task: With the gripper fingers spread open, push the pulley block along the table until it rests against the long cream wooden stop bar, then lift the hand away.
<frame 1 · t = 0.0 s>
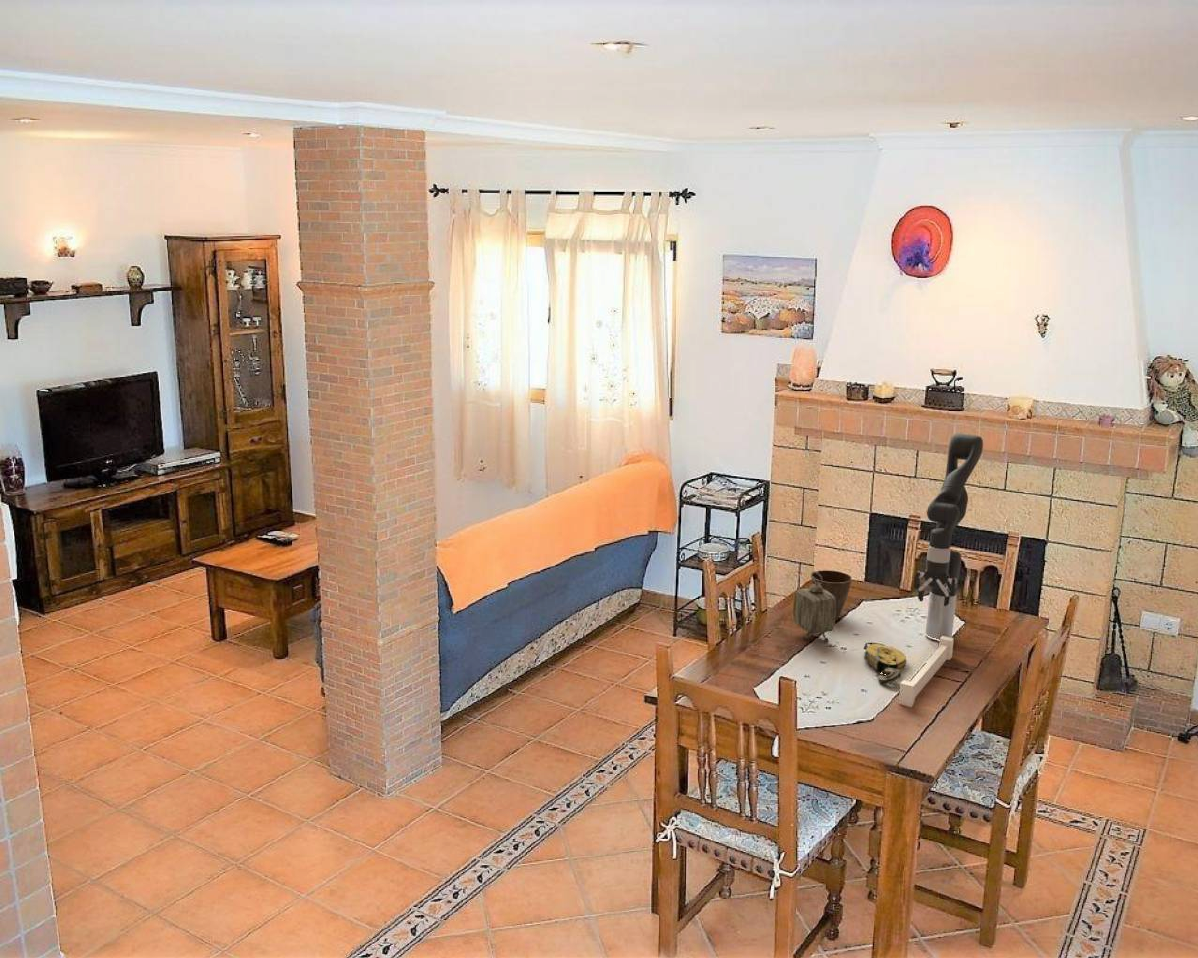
hand: (933, 603, 384), 17 cm above the table, tool pointing down, fingers open, 8 cm apart
plant pot: (828, 616, 418), on the table
pulley block: (884, 670, 370), on the table
tabletop clock: (811, 638, 395), on the table
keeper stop: (905, 674, 366), on the table
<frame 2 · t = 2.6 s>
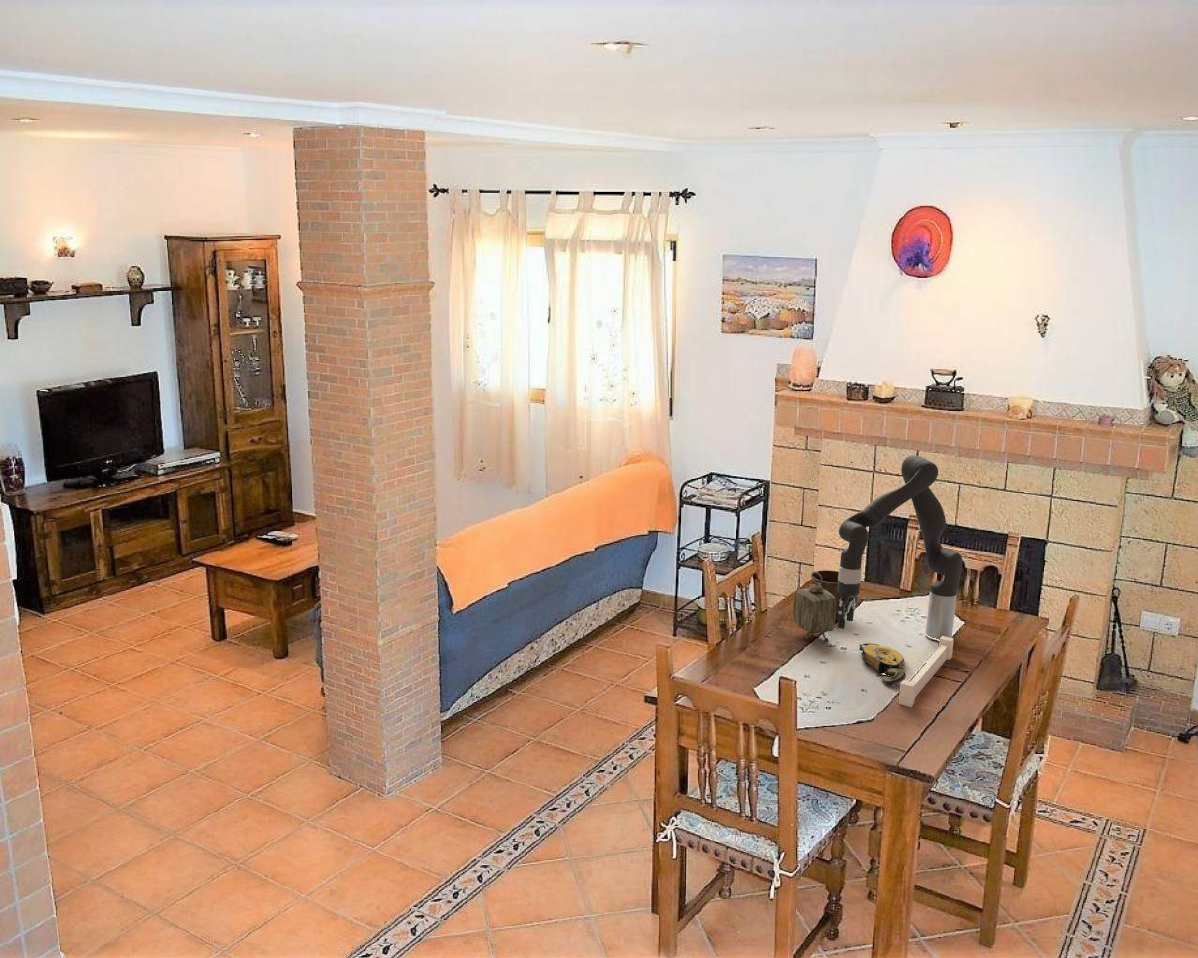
hand: (845, 624, 374), 13 cm above the table, tool pointing down, fingers open, 8 cm apart
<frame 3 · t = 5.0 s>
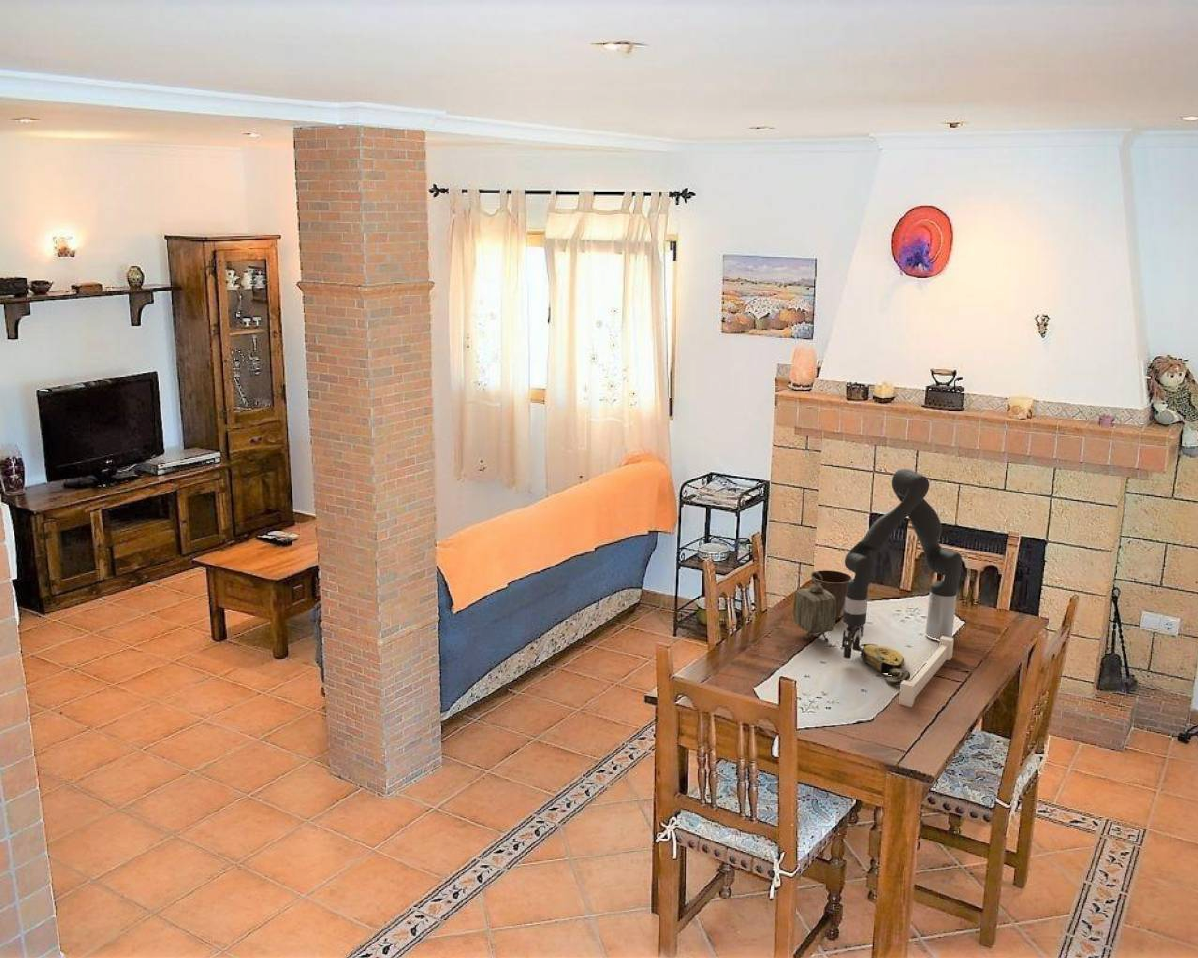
hand: (851, 653, 375), 3 cm above the table, tool pointing down, fingers open, 8 cm apart
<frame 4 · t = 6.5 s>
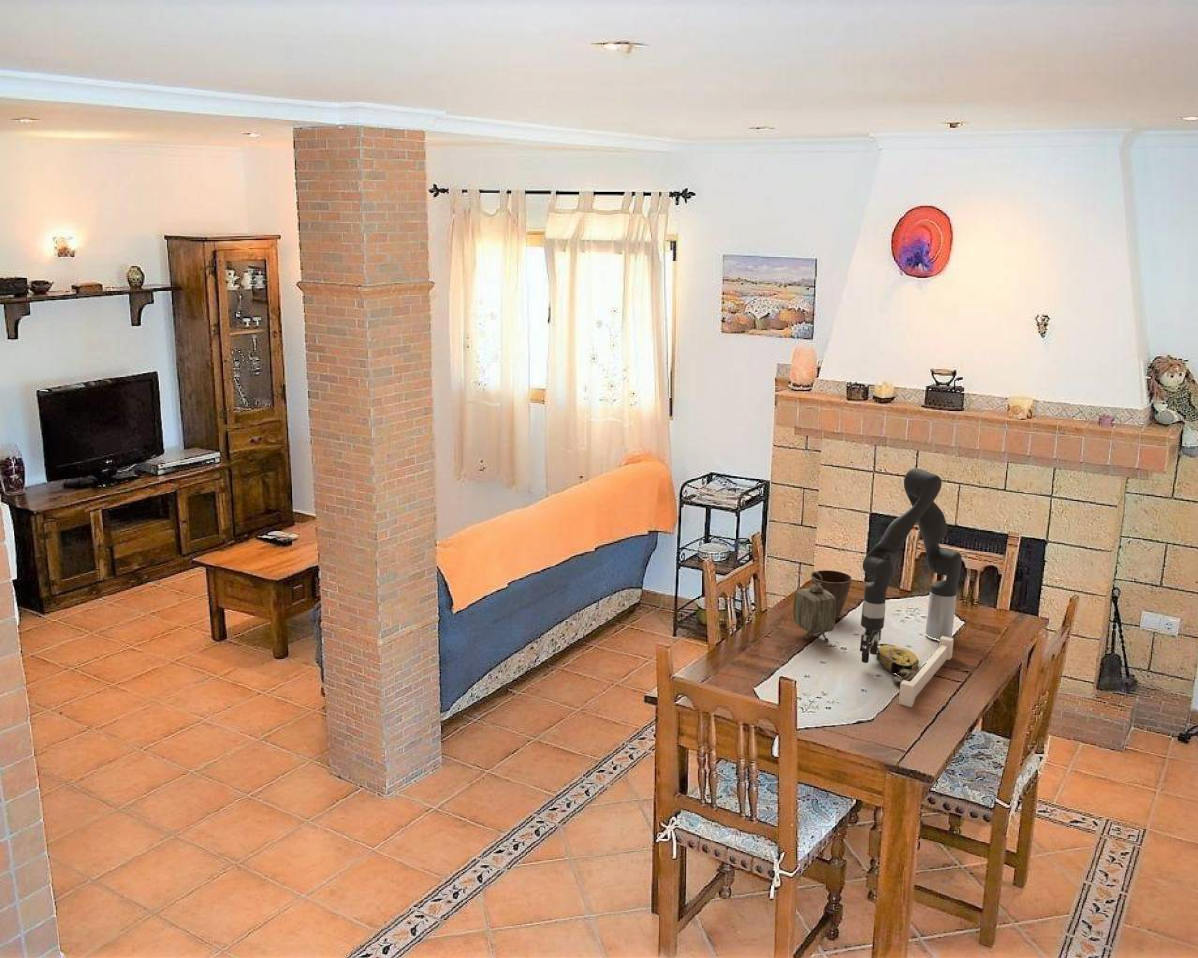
hand: (869, 658, 372), 3 cm above the table, tool pointing down, fingers open, 8 cm apart
pulley block: (898, 671, 369), on the table
everything else where it was.
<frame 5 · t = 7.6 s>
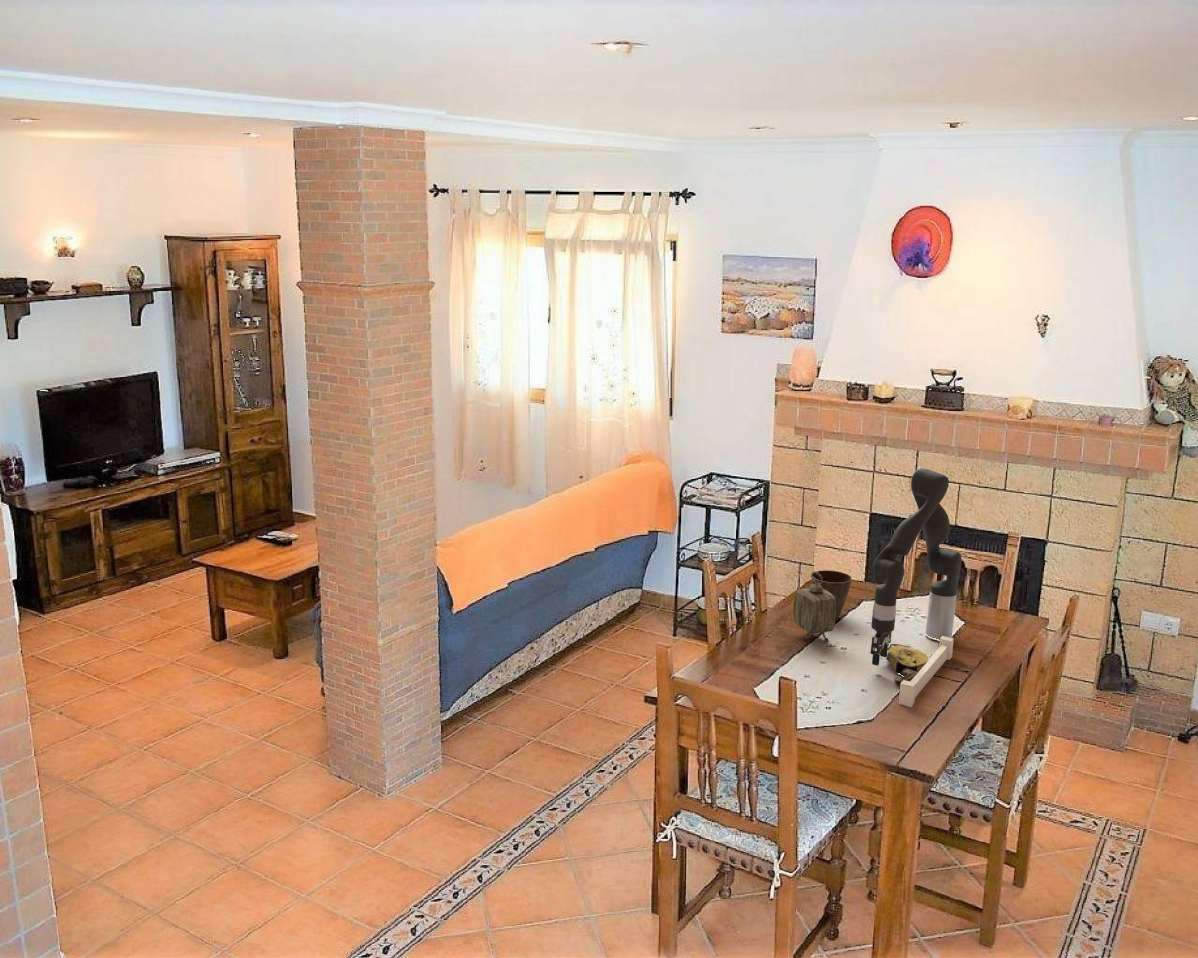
hand: (879, 660, 370), 3 cm above the table, tool pointing down, fingers open, 8 cm apart
pulley block: (905, 672, 369), on the table, touching gripper, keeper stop
everything else where it was.
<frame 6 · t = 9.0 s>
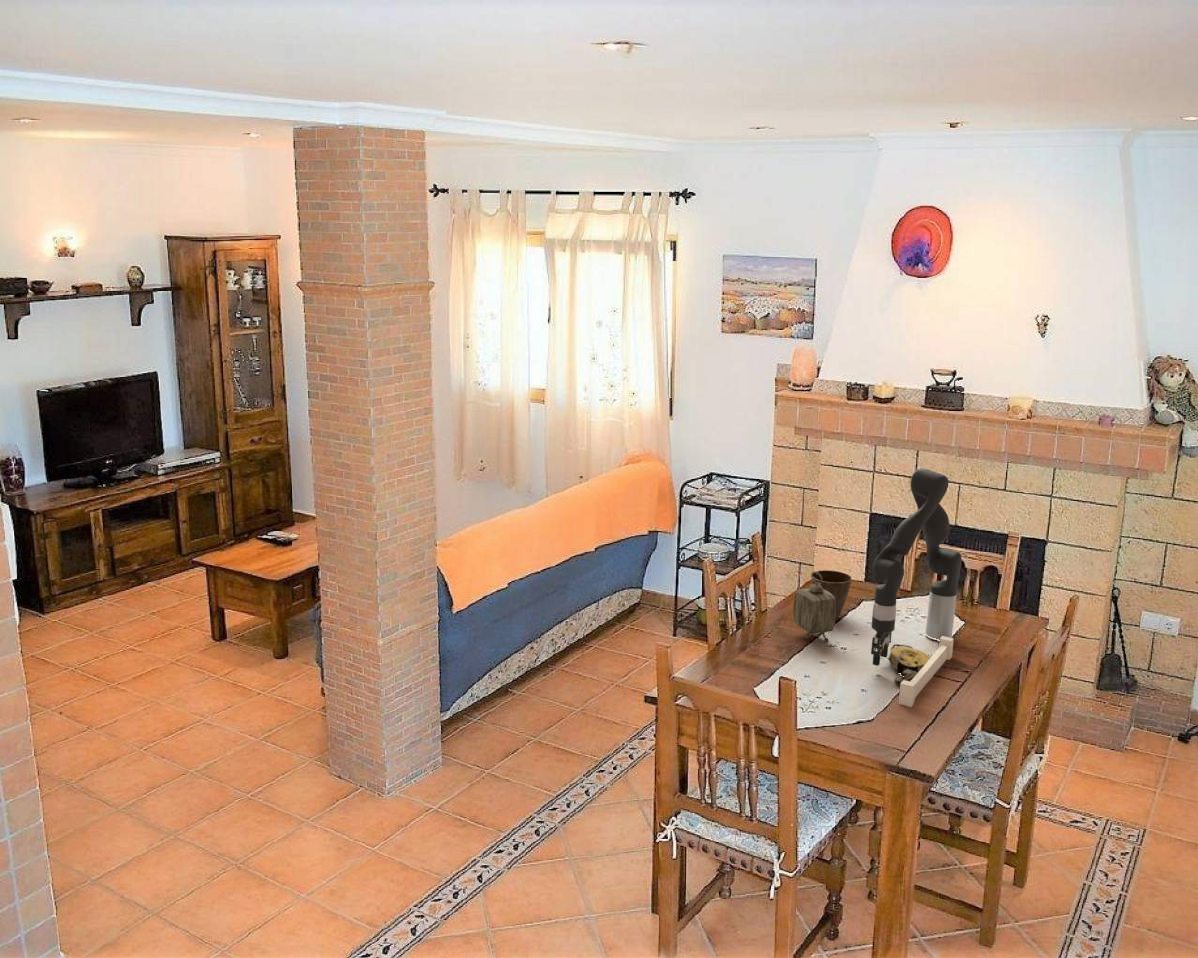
hand: (879, 660, 370), 3 cm above the table, tool pointing down, fingers open, 8 cm apart
pulley block: (906, 672, 369), on the table
everything else where it was.
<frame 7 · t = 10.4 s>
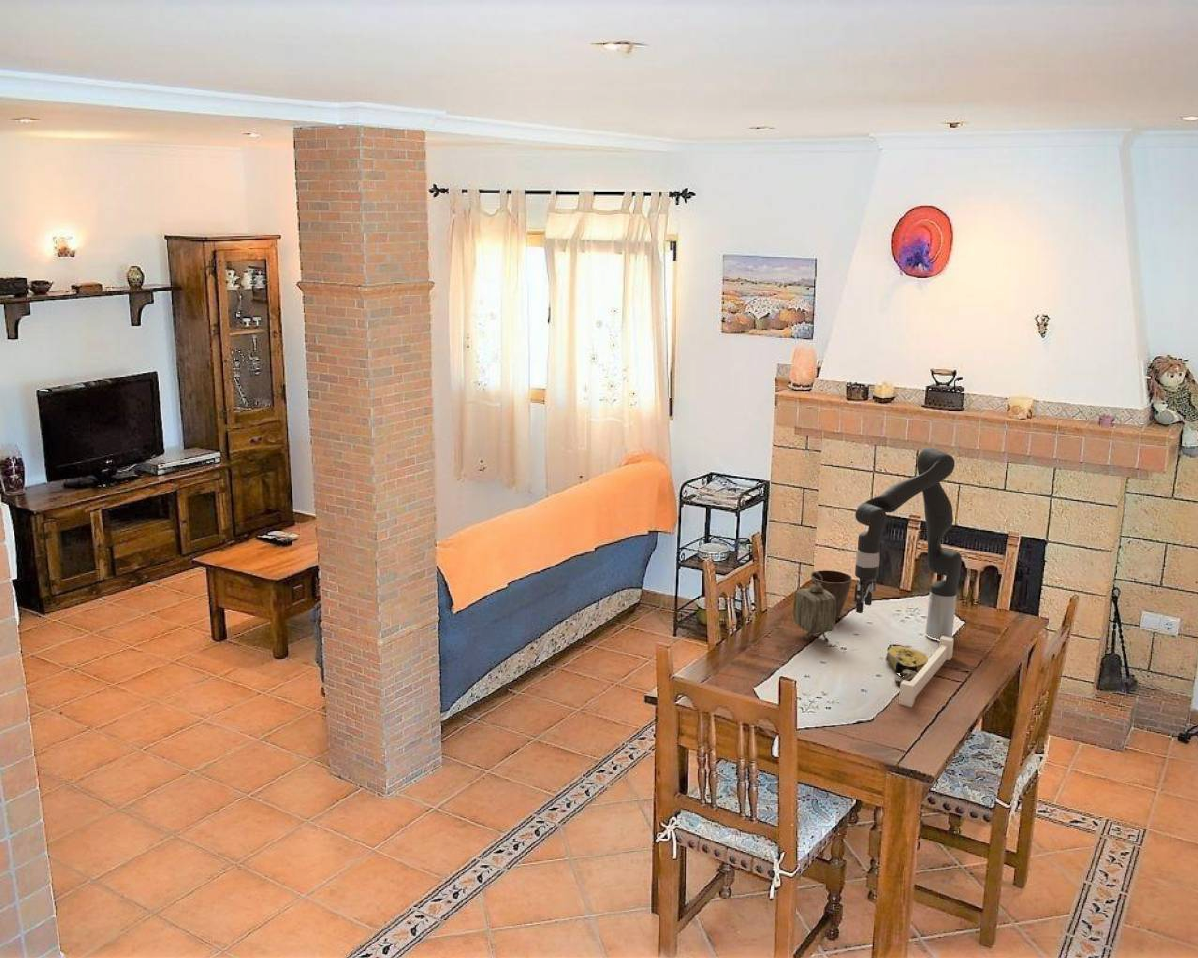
hand: (863, 608, 370), 20 cm above the table, tool pointing down, fingers open, 8 cm apart
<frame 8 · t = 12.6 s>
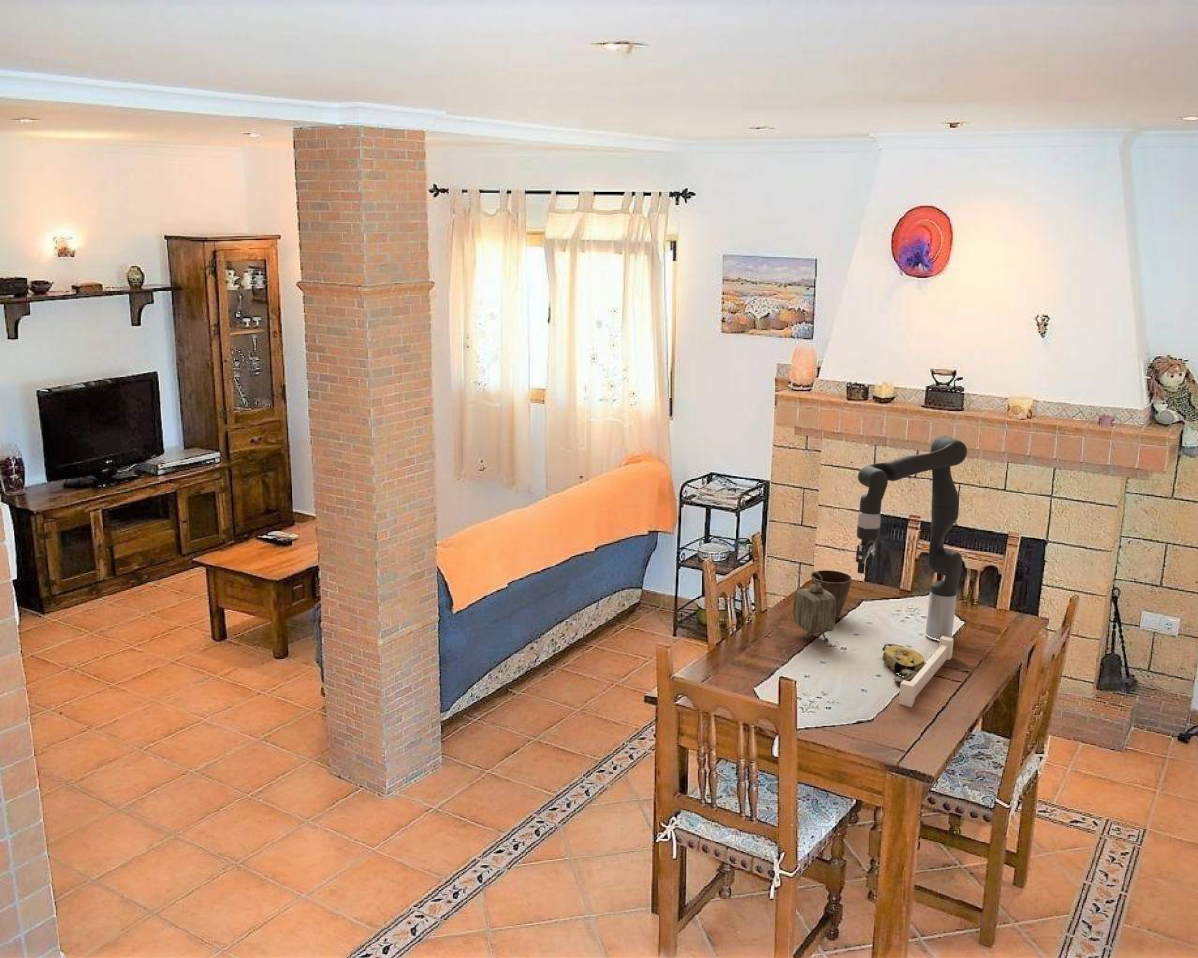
hand: (864, 569, 377), 30 cm above the table, tool pointing down, fingers open, 8 cm apart
at the end: pulley block inside the target area (2.4 cm from its centre), on the table; pulley block moved 5.8 cm from its start; the gripper is holding nothing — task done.
